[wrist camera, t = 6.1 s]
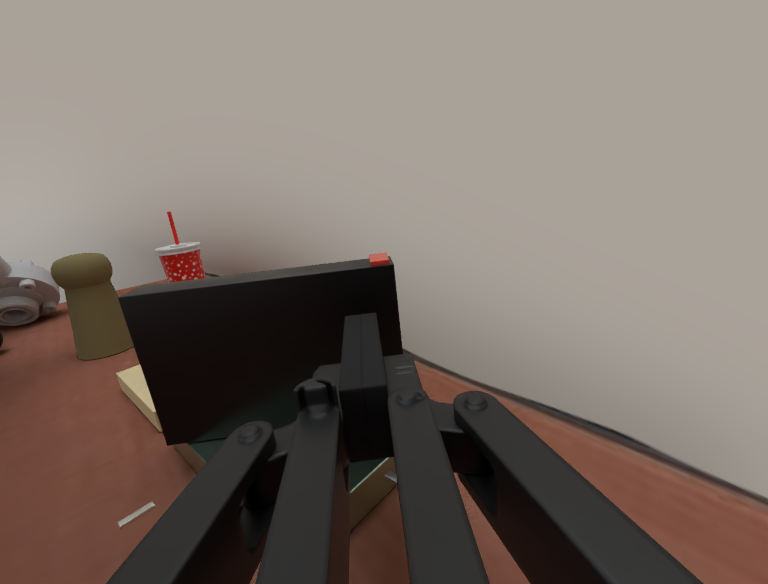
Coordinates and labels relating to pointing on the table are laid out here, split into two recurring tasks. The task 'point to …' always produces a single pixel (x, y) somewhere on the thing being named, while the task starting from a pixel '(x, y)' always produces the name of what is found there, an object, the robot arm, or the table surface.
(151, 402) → the button box
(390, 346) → the black panel
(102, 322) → the olive pawn
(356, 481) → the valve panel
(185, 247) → the beverage cup
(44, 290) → the mechanical valve
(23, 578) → the table surface
